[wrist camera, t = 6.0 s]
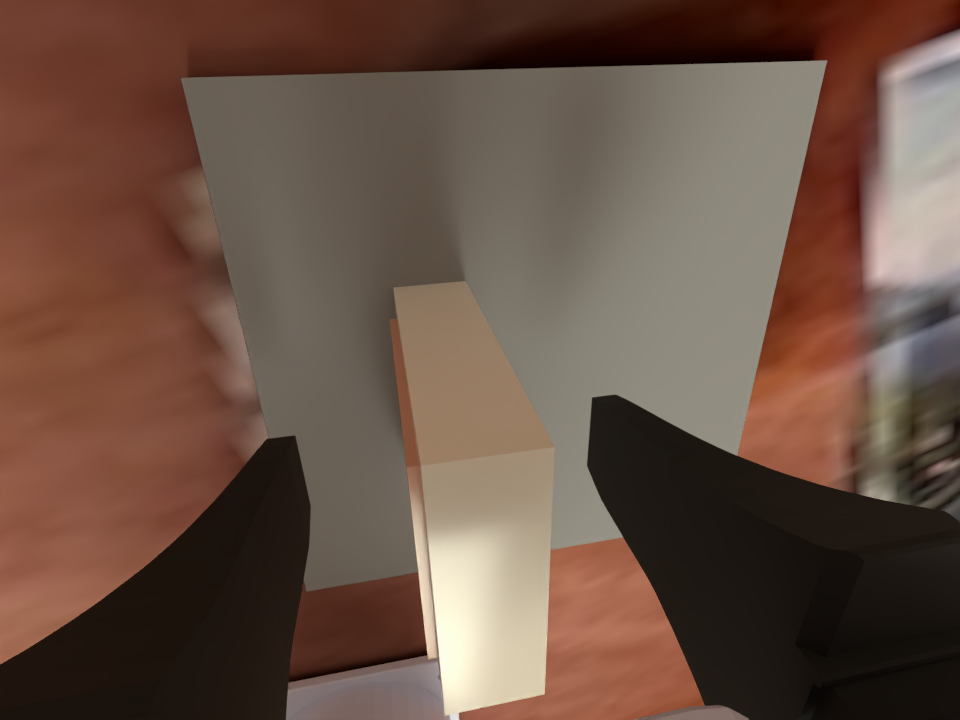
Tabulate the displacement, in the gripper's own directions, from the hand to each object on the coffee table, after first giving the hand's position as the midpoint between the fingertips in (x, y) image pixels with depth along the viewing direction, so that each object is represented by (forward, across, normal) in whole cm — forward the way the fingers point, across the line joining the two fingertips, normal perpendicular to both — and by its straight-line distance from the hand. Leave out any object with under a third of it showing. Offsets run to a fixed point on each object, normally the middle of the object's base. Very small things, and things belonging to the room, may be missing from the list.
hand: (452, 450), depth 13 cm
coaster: (+4, 0, 0) cm, 4 cm away
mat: (+4, -3, 0) cm, 5 cm away
